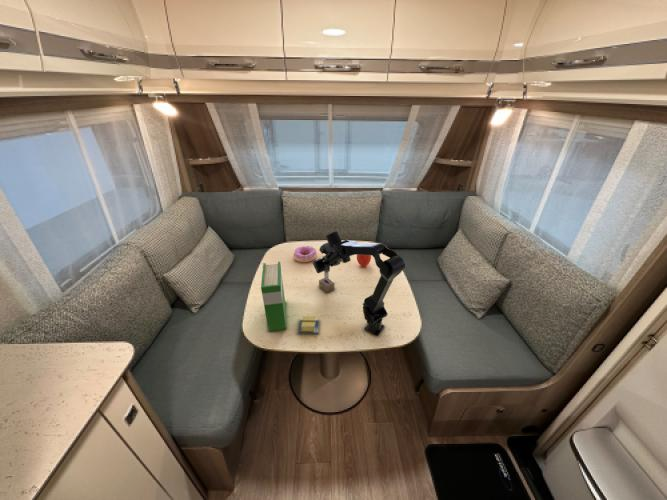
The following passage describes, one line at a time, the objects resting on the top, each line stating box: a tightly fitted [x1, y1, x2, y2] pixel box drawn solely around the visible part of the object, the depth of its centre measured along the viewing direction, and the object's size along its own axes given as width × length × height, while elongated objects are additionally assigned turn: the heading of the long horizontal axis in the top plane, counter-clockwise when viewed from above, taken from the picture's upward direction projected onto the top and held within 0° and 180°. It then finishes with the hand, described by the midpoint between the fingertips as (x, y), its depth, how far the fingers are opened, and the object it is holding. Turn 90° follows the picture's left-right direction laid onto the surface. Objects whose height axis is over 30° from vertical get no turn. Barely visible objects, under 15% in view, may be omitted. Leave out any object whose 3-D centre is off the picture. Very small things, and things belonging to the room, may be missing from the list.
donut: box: [293, 245, 317, 263], centre depth 167 cm, size 14×14×5 cm
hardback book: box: [260, 261, 287, 332], centre depth 118 cm, size 18×7×24 cm, turn 10°
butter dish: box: [297, 315, 320, 335], centre depth 117 cm, size 8×7×4 cm
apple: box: [356, 255, 372, 268], centre depth 156 cm, size 9×8×11 cm
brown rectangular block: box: [318, 277, 335, 294], centre depth 140 cm, size 7×5×4 cm
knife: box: [321, 254, 331, 281], centre depth 135 cm, size 3×2×14 cm
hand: (324, 265), depth 136 cm, fingers closed on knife, 2 cm apart
